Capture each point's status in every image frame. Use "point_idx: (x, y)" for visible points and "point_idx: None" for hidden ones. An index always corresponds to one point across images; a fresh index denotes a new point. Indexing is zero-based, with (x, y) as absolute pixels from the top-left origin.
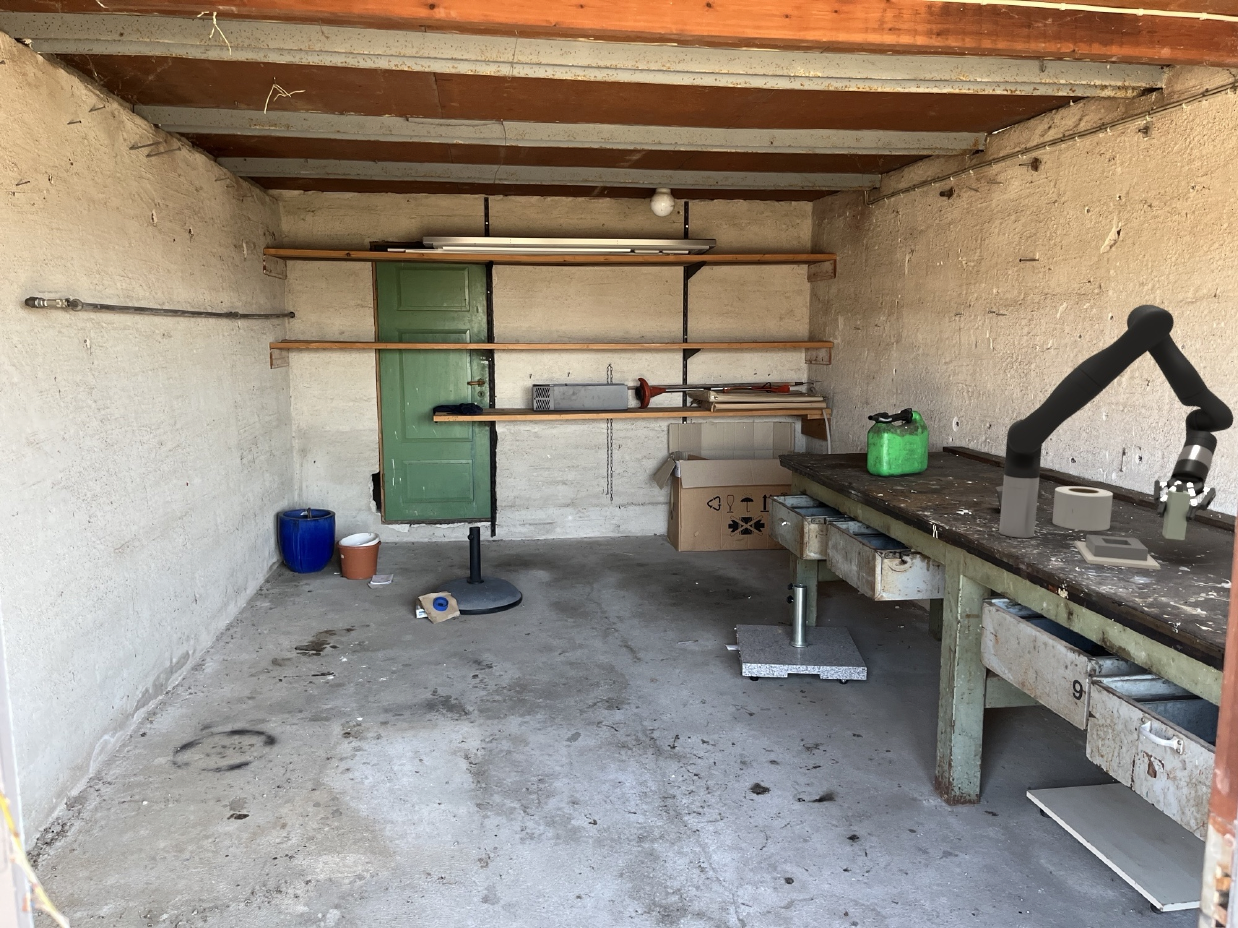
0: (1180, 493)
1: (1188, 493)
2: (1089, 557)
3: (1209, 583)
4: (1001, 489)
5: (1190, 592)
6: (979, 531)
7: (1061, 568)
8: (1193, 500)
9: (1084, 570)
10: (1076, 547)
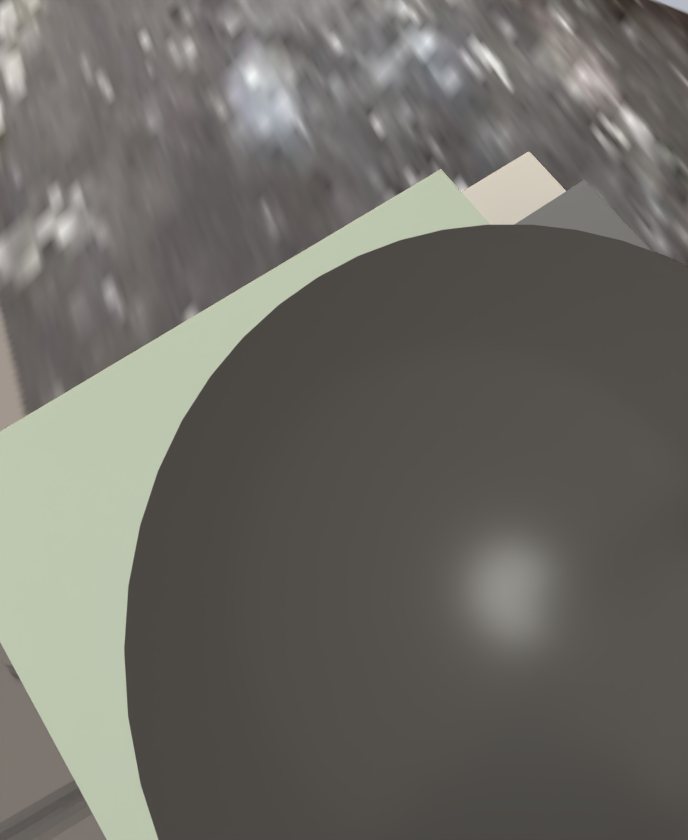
0: (241, 290)
1: (11, 497)
2: (548, 187)
3: (34, 256)
4: None
5: (58, 67)
6: None
7: (525, 27)
8: (36, 752)
9: (462, 61)
10: None
